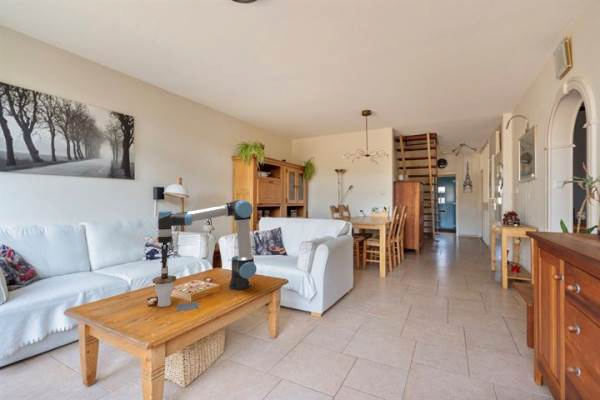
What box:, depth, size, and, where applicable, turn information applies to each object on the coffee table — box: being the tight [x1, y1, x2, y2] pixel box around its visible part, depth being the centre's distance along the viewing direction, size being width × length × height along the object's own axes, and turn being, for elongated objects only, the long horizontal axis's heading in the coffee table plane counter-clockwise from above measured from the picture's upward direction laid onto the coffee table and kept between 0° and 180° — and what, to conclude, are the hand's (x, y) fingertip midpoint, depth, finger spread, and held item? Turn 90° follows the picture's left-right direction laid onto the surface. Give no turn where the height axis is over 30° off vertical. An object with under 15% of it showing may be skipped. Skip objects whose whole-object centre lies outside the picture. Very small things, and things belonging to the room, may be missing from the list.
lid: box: [152, 265, 177, 285], centre depth 173 cm, size 13×13×8 cm
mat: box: [176, 301, 200, 312], centre depth 170 cm, size 12×12×1 cm
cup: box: [154, 281, 175, 308], centre depth 173 cm, size 11×11×15 cm
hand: (164, 270), depth 173 cm, fingers open, 13 cm apart
